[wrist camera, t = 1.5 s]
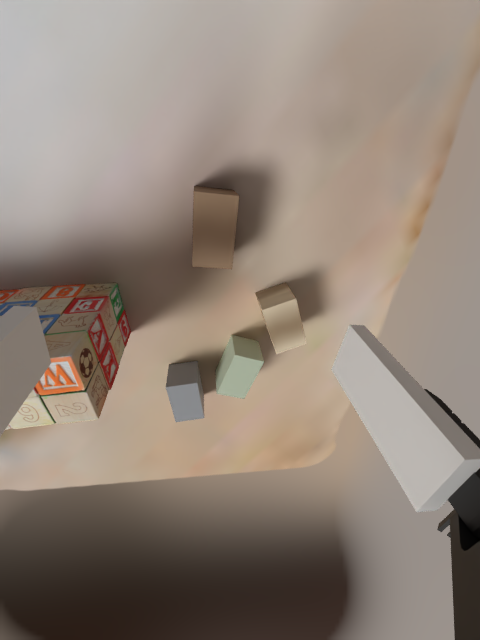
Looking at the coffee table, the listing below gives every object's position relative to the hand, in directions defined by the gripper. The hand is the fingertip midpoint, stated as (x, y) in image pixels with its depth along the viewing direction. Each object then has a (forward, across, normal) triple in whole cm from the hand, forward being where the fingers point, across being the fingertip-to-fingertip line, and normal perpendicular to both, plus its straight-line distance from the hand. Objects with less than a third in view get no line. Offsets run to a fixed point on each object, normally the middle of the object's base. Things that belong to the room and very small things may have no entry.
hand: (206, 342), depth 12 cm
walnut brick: (+17, +1, +2) cm, 17 cm away
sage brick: (+17, +5, -14) cm, 23 cm away
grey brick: (+17, -1, -18) cm, 25 cm away
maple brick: (+17, +9, -7) cm, 21 cm away
